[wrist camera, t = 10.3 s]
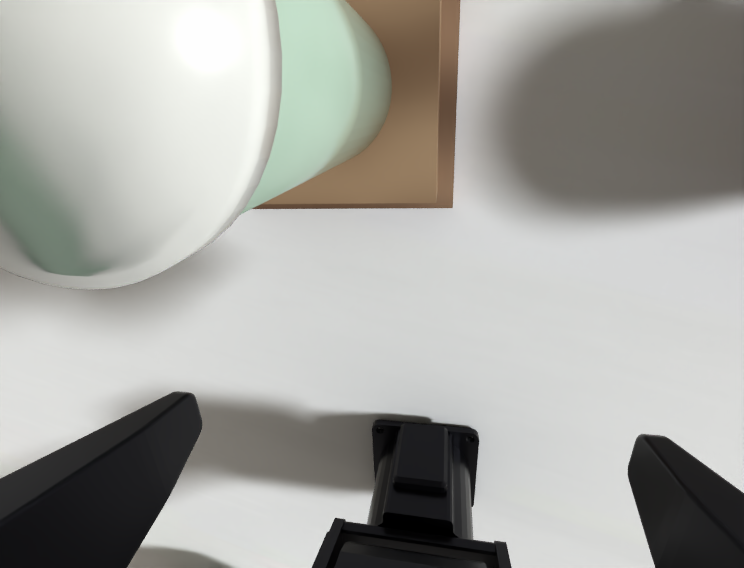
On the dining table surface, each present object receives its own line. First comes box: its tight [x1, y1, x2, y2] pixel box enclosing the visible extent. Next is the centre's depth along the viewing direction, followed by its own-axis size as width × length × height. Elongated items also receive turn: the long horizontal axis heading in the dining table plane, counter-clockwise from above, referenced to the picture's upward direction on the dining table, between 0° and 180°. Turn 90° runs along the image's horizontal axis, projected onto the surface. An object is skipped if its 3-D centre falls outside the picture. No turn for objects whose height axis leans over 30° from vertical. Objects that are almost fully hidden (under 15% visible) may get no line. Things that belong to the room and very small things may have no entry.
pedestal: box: [252, 0, 460, 209], centre depth 16 cm, size 10×10×3 cm
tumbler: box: [0, 0, 392, 290], centre depth 10 cm, size 6×6×12 cm
